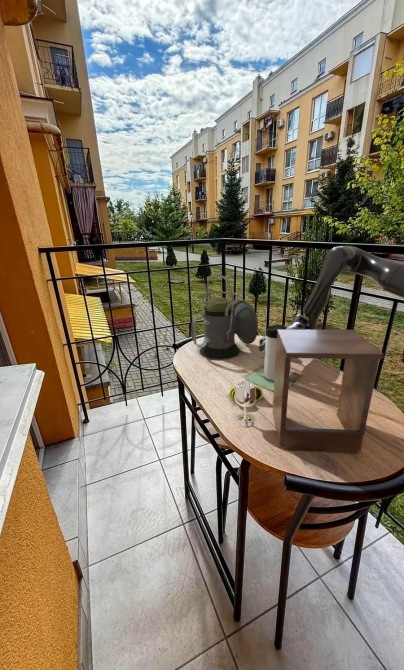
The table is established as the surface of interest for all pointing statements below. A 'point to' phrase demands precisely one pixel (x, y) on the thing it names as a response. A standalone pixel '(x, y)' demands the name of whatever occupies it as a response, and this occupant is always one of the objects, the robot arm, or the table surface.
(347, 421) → the cabinet
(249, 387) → the wineglass
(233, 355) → the lantern
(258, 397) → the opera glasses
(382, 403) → the table surface
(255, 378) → the green square mat
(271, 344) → the travel mug
